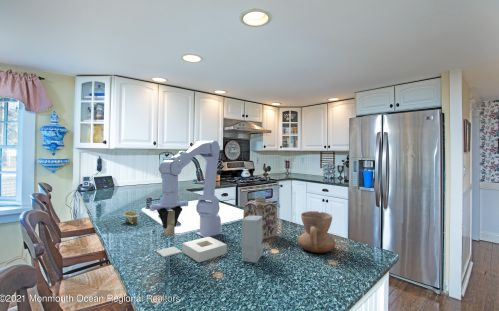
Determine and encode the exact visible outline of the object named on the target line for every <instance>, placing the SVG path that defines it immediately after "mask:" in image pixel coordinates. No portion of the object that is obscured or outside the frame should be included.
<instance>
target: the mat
mask: <svg viewBox="0 0 499 311" xmlns="http://www.w3.org/2000/svg"><path fill="white" fill-rule="evenodd" d="M155 253H157V254H158V255H159V256H161V257H162V258H168V257H171V256H175V255H179V254H182V253H183V252H182V250H180V249H179V248H177V247H175V246H169V247H166V248H161V249H158V250H156V252H155Z"/></svg>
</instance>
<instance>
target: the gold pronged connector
mask: <svg viewBox="0 0 499 311" xmlns="http://www.w3.org/2000/svg"><path fill="white" fill-rule="evenodd" d="M122 216H123V217H125V223H130V224H132V225H133V224H138V217H140V214H138V213H136V211H131V210H127V211H125V212H124V213H123V214H122Z"/></svg>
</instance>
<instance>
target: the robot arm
mask: <svg viewBox="0 0 499 311" xmlns="http://www.w3.org/2000/svg"><path fill="white" fill-rule="evenodd" d="M220 150H221V145H220V144H219V142H218V140H198V141H196V142H195V144H194V145H192V146H191V148H188V150H187V151H185V150H180V151H178V153H177V154H175V155H174V156H171V157H170V159H165V160H162V162H161V163H160V164H159V167H158V170H159V173H160V178H161V181H162V183H161V202H159V203H153V204H149V211H150V212H155V211H156V212H157V214H158V216H159V218H160V221H161V223H162V228H163V229H164V228H165V229H166V228H167V218H168V211H167V210H168V209H170V210H173V211H175V228H176V227H177V225H178V224H177V223H178V219H179V217H180V215H181V213H182V211H183V208H182V207H189V201H188V200H178V198H179V196H178V195H179V193H178V192H179V175H180V174H181V173H182V170H183V169H184V168H185V167H187V166H188V165H189V164H191V162H192V159H193V158H195V156H198V155H199V156H201V158H203V159H205V162H206V165H205V173H204V174H205V175H204V183H203V192H202V195H201V196H199V197H198V200H197V203H196V206H195V207H196V212H197V213H198V216H199V231H197V232H196V233H195V234H196V235H199V236H200V237H201V238H205V237H215V236H216V235H217V236H218V235H221V234H222V232H221V228H222V225H221V224H222V220H221V216H220V215H219V212H220V199H219V198H218V197H217V196H216V195H215V192H216V181H217V173H218V163H219V158H220V152H221V151H220Z"/></svg>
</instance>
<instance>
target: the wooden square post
mask: <svg viewBox="0 0 499 311" xmlns="http://www.w3.org/2000/svg"><path fill="white" fill-rule="evenodd" d="M166 210H167V211H168V218H167V228H166V229H165V228H163V235H164V236H166V237H169V236H174V235H175V233H176V232H175V231H176V229H175V228H176V227H175V211H173V210H171V209H166Z"/></svg>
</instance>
